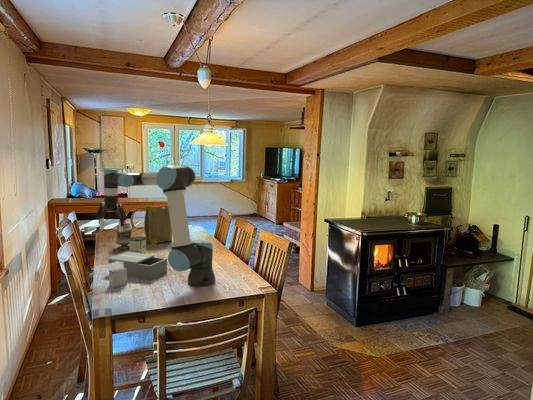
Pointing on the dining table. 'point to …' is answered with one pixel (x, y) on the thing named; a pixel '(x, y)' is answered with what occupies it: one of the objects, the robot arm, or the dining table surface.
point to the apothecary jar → (123, 236)
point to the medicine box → (117, 277)
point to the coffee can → (138, 244)
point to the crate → (147, 268)
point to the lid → (130, 257)
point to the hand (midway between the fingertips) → (111, 230)
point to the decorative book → (157, 224)
